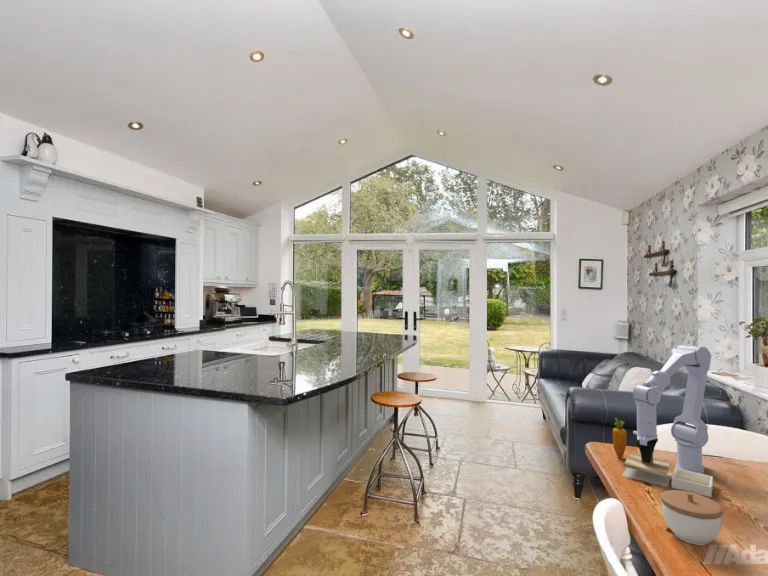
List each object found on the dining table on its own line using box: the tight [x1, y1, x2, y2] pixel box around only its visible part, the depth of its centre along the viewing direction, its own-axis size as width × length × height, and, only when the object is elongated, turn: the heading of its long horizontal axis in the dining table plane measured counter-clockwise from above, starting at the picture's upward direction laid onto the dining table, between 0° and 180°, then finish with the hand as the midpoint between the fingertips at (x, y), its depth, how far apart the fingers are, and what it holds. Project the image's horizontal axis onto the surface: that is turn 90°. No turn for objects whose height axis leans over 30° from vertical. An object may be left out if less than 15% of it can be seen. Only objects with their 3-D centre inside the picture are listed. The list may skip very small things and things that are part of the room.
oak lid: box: [623, 451, 672, 476], centre depth 141 cm, size 12×12×5 cm
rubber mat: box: [621, 467, 673, 488], centre depth 141 cm, size 13×13×1 cm
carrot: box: [612, 417, 628, 459], centre depth 157 cm, size 5×5×15 cm
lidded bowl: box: [660, 489, 723, 546], centre depth 105 cm, size 13×13×11 cm
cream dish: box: [671, 467, 714, 498], centre depth 132 cm, size 10×10×4 cm
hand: (647, 460), depth 141 cm, fingers closed on oak lid, 3 cm apart
